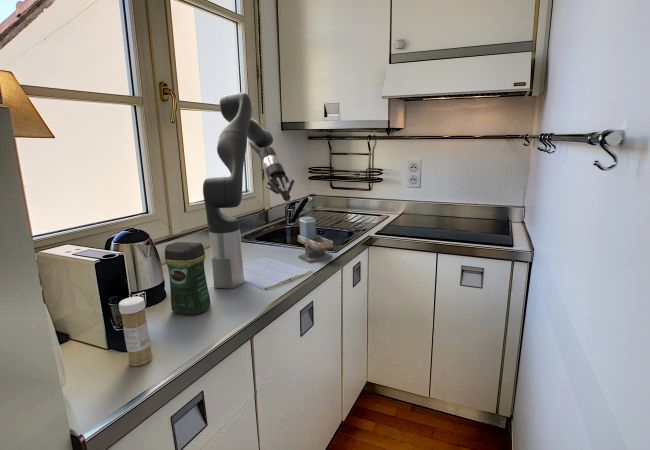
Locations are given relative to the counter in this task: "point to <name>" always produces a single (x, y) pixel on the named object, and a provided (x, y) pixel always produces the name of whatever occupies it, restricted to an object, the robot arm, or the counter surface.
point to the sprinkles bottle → (135, 330)
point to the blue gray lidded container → (307, 227)
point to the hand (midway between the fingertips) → (287, 200)
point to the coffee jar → (187, 278)
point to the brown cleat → (315, 248)
